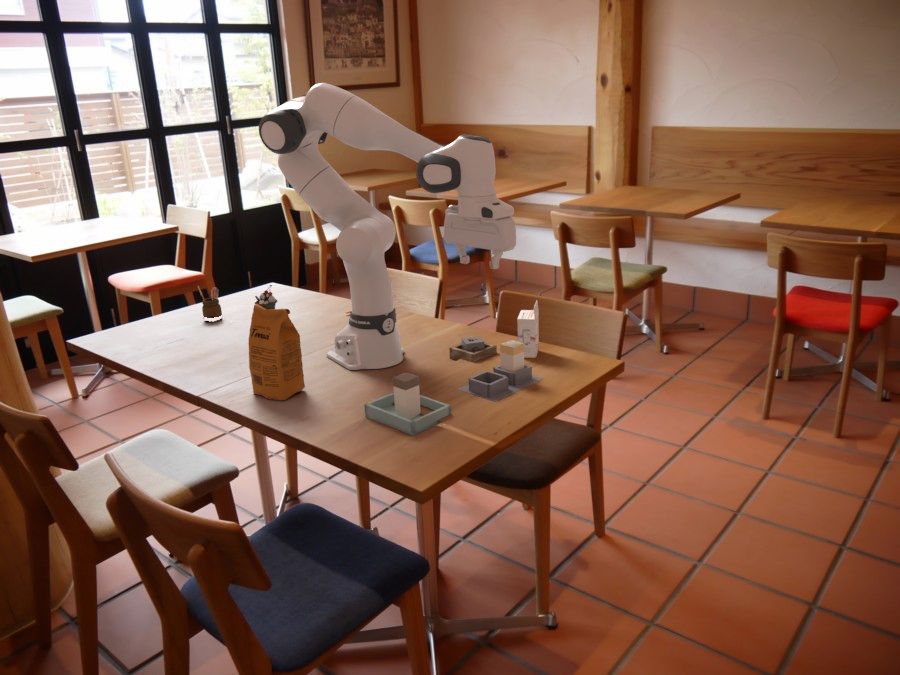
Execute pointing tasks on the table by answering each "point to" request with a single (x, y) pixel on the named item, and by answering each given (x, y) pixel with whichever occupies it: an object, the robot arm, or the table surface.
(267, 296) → the sundae
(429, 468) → the table surface
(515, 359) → the block
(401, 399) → the block
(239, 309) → the table surface
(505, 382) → the block
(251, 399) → the table surface
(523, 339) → the ink cartridge box
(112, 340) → the table surface
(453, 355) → the dice corral
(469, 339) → the dice cube
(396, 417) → the tray
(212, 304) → the utensil holder
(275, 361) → the coffee package
